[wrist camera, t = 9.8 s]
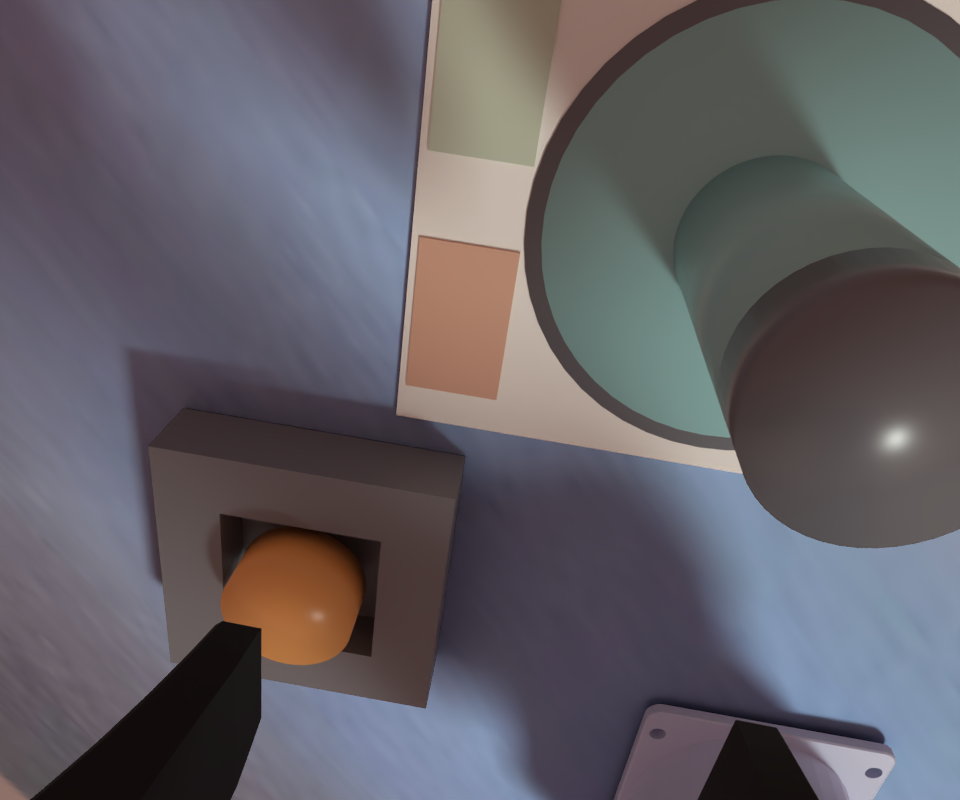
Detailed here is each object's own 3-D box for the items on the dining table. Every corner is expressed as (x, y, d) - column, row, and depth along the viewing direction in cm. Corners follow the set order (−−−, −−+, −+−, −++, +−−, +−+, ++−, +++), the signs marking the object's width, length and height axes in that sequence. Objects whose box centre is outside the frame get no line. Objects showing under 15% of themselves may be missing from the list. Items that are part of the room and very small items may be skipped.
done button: (362, 632, 22) (348, 675, 21) (244, 611, 22) (222, 652, 21) (370, 538, 21) (355, 578, 19) (241, 516, 21) (217, 554, 19)
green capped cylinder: (822, 341, 18) (977, 569, 11) (654, 314, 18) (703, 522, 11) (888, 170, 16) (1129, 316, 9) (700, 141, 16) (793, 263, 9)
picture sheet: (992, 514, 20) (996, 518, 20) (396, 413, 20) (395, 416, 20) (1293, 4, 14) (1301, 4, 14) (443, -120, 14) (442, -122, 14)
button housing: (436, 657, 25) (425, 708, 23) (199, 614, 25) (171, 661, 23) (465, 456, 21) (455, 499, 19) (183, 408, 21) (147, 446, 19)
